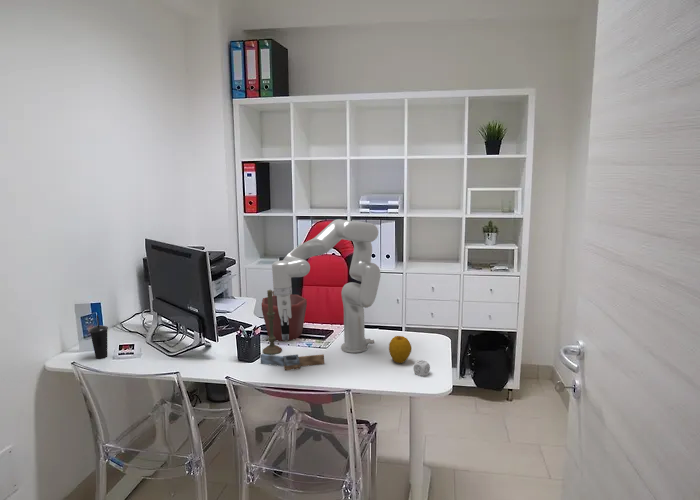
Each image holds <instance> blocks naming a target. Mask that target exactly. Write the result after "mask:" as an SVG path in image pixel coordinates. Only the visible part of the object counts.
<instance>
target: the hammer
mask: <svg viewBox="0 0 700 500" xmlns="http://www.w3.org/2000/svg"><path fill="white" fill-rule="evenodd" d="M259 357H260V364H261V365H269V364H271V366H277V365H278V366H280V367H283V368H284V371H292V370H291V369H294V370H300V369H301V367H307V366H308V365H309V366H317V365H325V354H323V353H322V354H313V355H305V356H304V355H302V356H299V354H290V355H289V354H288V355H277V354H274V355H267V354H264V353H261V354H260V356H259ZM278 366H277V367H278Z"/></svg>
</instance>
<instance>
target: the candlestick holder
mask: <svg viewBox="0 0 700 500" xmlns="http://www.w3.org/2000/svg"><path fill="white" fill-rule="evenodd" d="M272 291H273V290H272V289H268V290H267V291H266V292H267V293H266V294H267V297H268V313H267V315H268V317H267V319H268V320H270V321H269V327H270V337H268V338H267V340H268V342H269V345H268V346H266V347H264V348H263V349H262V354H267V355H278V354H281V353H282V352H283V348H282V347H280V346H279V345H276V344H275V342H276V340H275V339H276V338H275V337H274V335H273V319H274V314H275V312H273V300H272V296H273V294H272Z"/></svg>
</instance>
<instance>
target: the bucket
mask: <svg viewBox="0 0 700 500" xmlns="http://www.w3.org/2000/svg"><path fill="white" fill-rule="evenodd" d="M272 300H273V312H275V314H274V319H273V335H274V337H275V338H276V339H275V341H276V340H278V341H277V342H285V341H284V340H282V331H281V319H280V316H279V312H278V305H277V296H275V295H274V290H272ZM307 300H308V299H307V298H305V297H303V296H301V295H299V294H291V295H290V302H291V315H292V318H289V317H288V323H289V340H288V341H294V340H293V339H295V340H297V339H298V338H299V337H301V336H302V335H301V334H303V329H304V323H305V317H306V310H307V303H308V301H307ZM261 313H262V315H263V320H264V325H265V328H266V331H267V337H268V338H269V337H270V327H269V321H270V320H268V319H267V317H268V315H267V313H268V296H267V297H264V298H263V297H262V300H261Z"/></svg>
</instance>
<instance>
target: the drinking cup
mask: <svg viewBox="0 0 700 500" xmlns="http://www.w3.org/2000/svg"><path fill="white" fill-rule="evenodd" d="M95 316H96V324H97V325H94V326H93V327H91V328H89V330H88V331H89V333H90V337H91V343H92V346H93V350H94V355H95V359H96V360H101V359H102V360H103V359H106V358H107V357H108V329H109V327H108V326H106V325H102V324H101V325H100V322H99V321H100V320H99V315H98V314H96V315H95Z"/></svg>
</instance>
